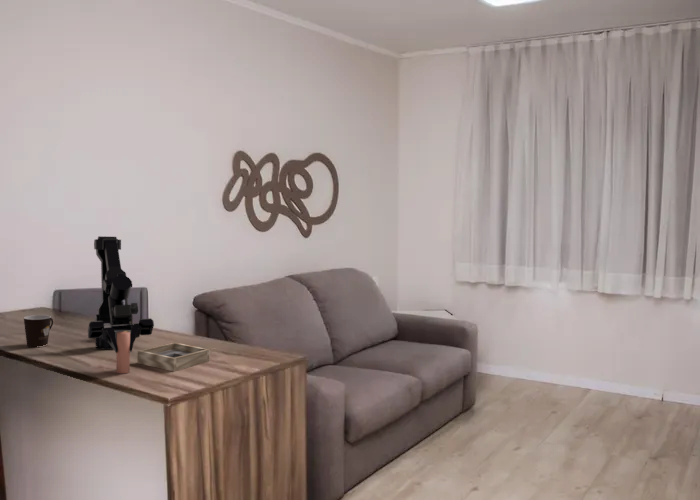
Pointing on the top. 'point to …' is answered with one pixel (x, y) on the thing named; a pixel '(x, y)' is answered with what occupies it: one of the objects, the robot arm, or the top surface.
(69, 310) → the top surface
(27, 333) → the coffee mug
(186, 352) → the box
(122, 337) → the peg
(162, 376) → the top surface
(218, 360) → the top surface
